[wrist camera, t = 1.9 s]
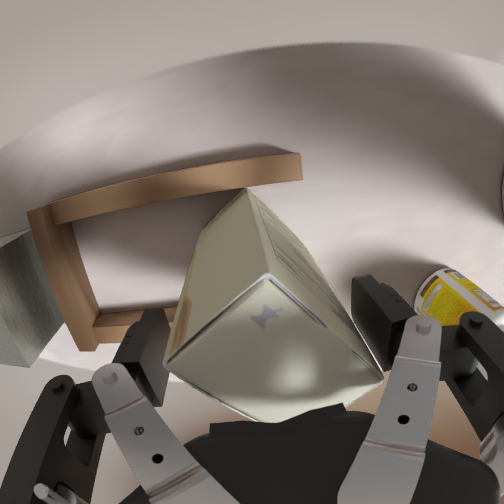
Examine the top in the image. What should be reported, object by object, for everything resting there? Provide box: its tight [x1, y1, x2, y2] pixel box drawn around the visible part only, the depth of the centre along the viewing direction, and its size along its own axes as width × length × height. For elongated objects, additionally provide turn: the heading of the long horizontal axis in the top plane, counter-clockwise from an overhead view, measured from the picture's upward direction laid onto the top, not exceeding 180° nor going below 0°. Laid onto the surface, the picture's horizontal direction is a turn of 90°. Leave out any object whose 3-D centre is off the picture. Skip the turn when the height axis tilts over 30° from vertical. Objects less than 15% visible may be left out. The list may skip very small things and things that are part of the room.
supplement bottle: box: [414, 268, 504, 380], centre depth 17 cm, size 6×6×10 cm
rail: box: [27, 152, 303, 351], centre depth 18 cm, size 18×11×3 cm, turn 98°
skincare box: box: [162, 188, 384, 423], centre depth 14 cm, size 6×4×12 cm
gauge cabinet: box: [0, 228, 65, 368], centre depth 16 cm, size 6×8×7 cm
